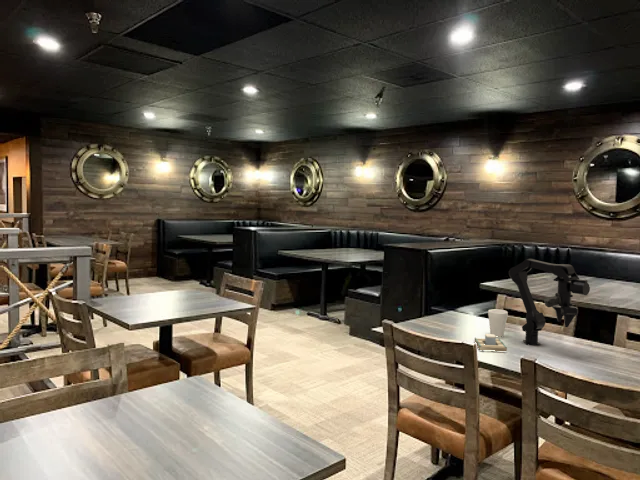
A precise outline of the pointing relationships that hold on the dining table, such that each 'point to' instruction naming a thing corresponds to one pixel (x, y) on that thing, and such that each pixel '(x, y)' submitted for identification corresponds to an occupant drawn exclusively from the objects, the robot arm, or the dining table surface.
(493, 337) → the grey and beige block
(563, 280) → the robot arm
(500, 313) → the foam cup
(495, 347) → the well
